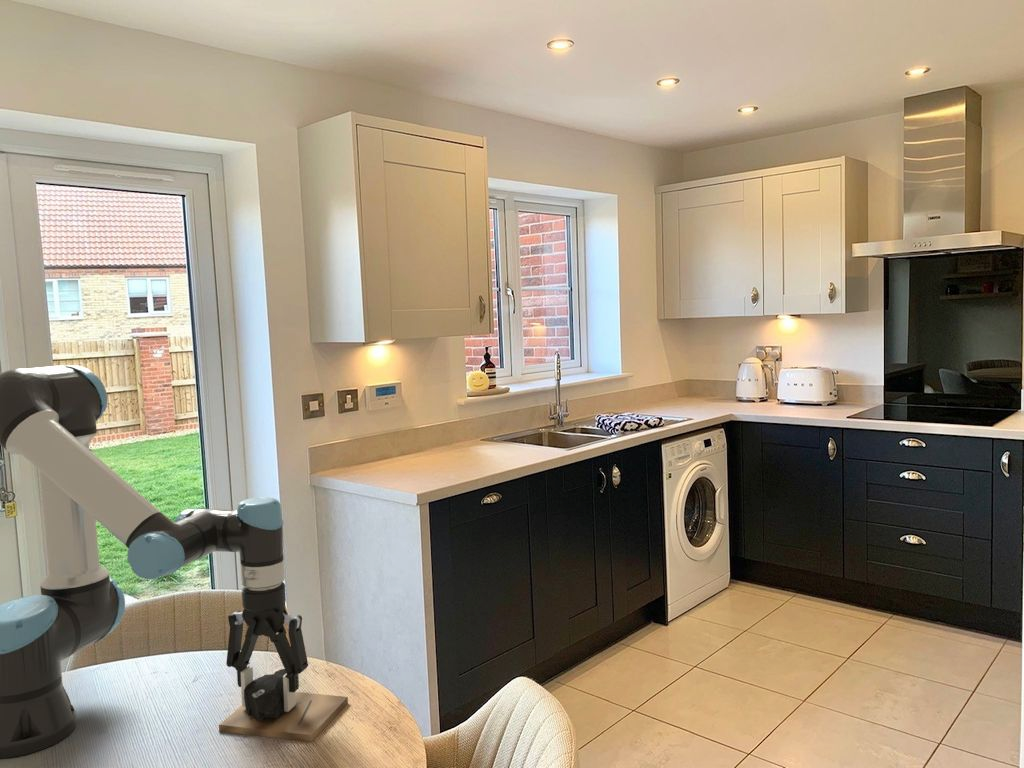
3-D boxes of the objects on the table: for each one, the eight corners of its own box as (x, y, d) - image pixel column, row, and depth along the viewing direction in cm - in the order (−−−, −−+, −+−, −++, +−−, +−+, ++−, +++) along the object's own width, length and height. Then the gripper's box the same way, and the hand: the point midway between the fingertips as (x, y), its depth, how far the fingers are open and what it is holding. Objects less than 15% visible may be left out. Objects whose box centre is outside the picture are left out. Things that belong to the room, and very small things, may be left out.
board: (219, 731, 139) (218, 724, 139) (262, 694, 153) (262, 688, 152) (311, 741, 135) (311, 734, 135) (347, 703, 148) (347, 696, 148)
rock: (260, 728, 137) (259, 695, 136) (238, 707, 144) (237, 675, 144) (308, 711, 142) (307, 680, 142) (284, 692, 150) (283, 662, 150)
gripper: (200, 587, 141) (206, 709, 143) (305, 594, 136) (310, 721, 138) (225, 574, 149) (231, 691, 150) (325, 580, 144) (330, 701, 145)
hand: (269, 705), depth 144 cm, fingers closed on rock, 8 cm apart
